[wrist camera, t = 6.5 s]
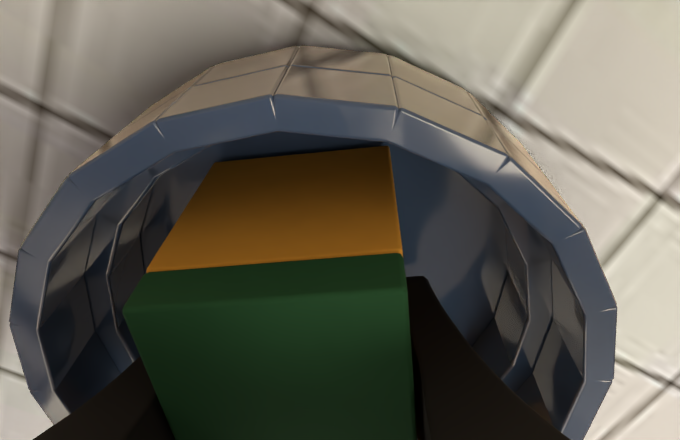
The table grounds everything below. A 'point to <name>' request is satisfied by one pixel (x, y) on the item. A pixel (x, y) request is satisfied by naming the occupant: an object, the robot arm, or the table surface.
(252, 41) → the table surface
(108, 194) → the bowl
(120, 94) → the table surface
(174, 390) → the sponge
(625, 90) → the table surface
